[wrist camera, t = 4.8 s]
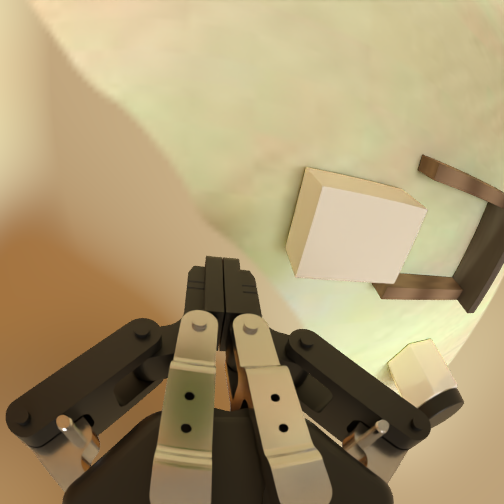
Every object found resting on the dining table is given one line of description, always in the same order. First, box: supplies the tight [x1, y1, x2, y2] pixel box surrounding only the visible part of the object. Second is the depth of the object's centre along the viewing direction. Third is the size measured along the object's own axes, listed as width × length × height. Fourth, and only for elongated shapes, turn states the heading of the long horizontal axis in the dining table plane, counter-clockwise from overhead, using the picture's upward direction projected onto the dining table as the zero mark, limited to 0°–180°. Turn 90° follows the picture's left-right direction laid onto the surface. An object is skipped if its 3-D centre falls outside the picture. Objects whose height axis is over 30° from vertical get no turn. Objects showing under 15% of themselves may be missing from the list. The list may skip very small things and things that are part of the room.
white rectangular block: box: [285, 167, 428, 284], centre depth 22 cm, size 9×7×5 cm
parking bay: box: [372, 155, 504, 313], centre depth 24 cm, size 14×14×5 cm
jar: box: [388, 339, 464, 428], centre depth 33 cm, size 9×8×12 cm
